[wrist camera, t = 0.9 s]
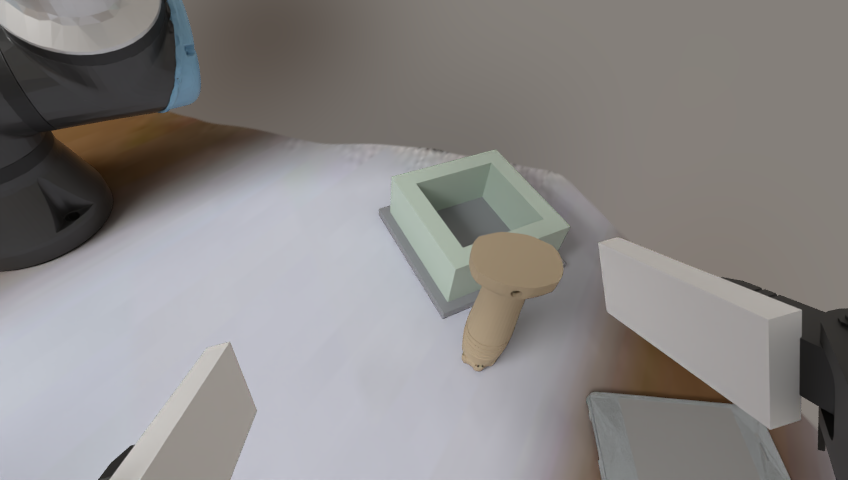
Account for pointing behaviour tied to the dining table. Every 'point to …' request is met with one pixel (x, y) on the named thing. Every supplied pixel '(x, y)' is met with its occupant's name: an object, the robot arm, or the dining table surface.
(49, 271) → the dining table surface
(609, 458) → the phone
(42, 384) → the dining table surface
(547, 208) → the holder
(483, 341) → the handle
